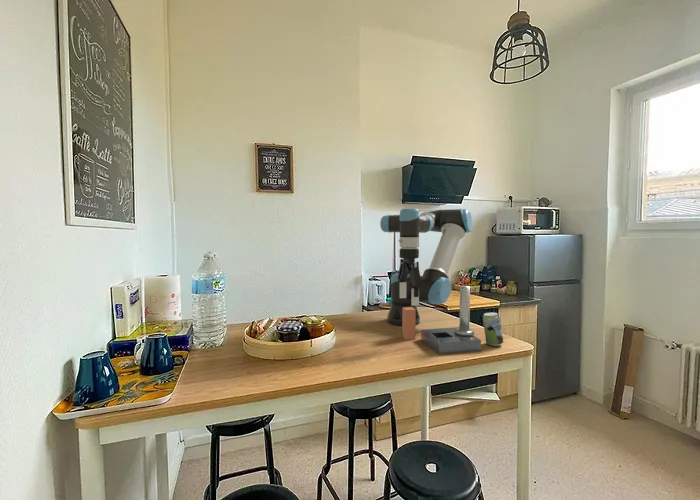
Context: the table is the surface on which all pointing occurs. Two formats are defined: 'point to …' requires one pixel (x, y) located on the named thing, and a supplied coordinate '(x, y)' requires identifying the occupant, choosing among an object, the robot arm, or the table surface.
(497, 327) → the beverage can
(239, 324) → the table surface
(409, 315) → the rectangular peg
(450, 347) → the socket base with post
